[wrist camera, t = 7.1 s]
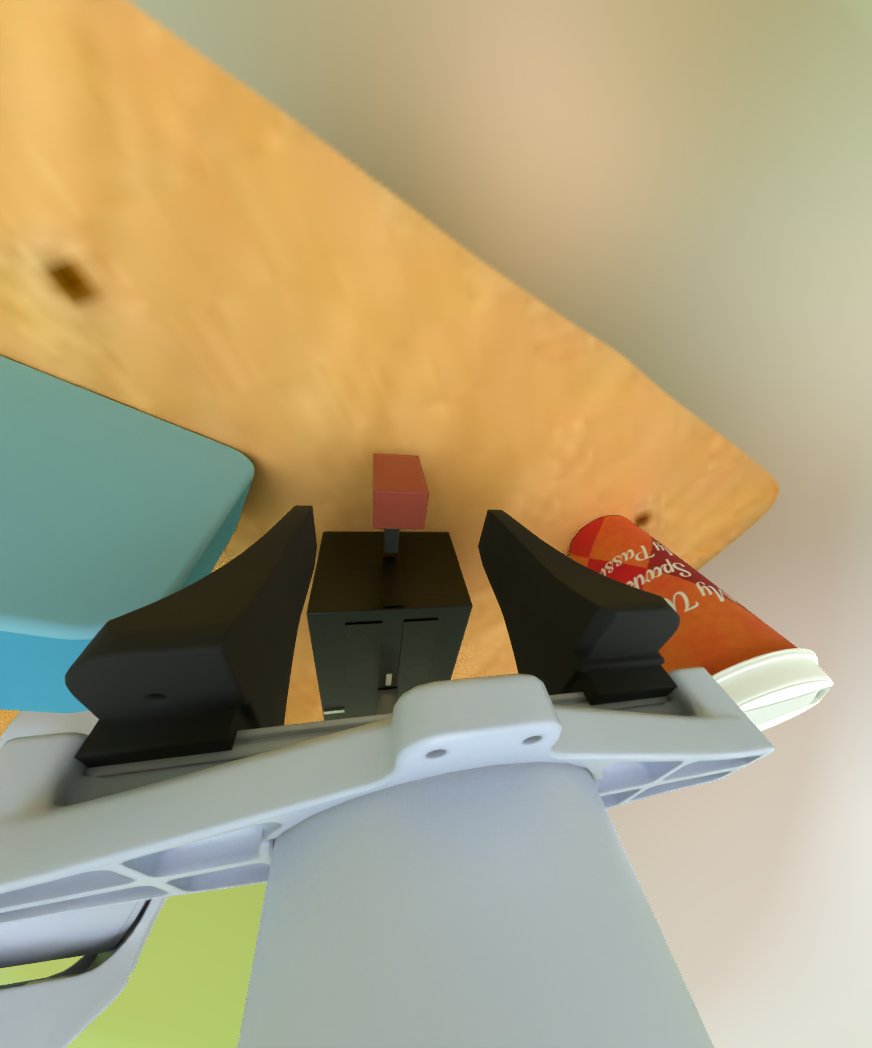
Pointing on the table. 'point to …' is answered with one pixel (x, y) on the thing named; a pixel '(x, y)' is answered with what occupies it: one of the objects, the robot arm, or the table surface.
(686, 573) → the paper cup
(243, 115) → the table surface
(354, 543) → the toaster
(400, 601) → the toaster trim
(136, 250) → the table surface
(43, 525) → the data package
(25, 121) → the table surface
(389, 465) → the press handle
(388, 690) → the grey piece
